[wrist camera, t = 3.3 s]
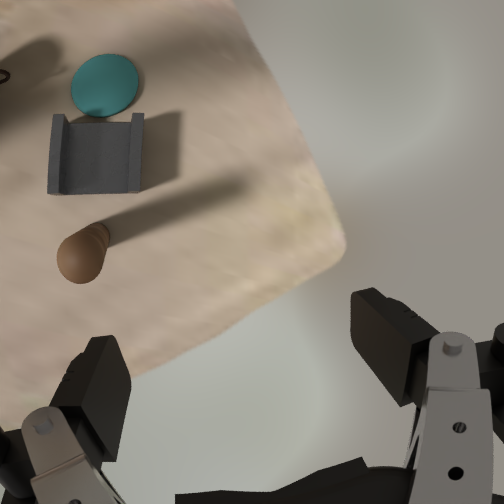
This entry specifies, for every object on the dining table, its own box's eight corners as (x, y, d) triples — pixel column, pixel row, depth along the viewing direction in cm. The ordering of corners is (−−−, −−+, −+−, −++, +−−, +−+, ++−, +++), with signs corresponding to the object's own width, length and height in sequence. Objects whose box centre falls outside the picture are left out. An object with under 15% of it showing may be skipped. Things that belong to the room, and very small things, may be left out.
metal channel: (56, 195, 38) (47, 193, 33) (60, 125, 37) (53, 114, 31) (137, 193, 43) (140, 191, 37) (140, 124, 42) (144, 113, 36)
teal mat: (67, 118, 37) (66, 116, 36) (77, 57, 36) (77, 54, 35) (134, 117, 41) (134, 115, 40) (141, 57, 40) (142, 54, 39)
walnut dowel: (83, 252, 41) (58, 284, 22) (82, 223, 40) (55, 234, 22) (110, 251, 42) (104, 282, 24) (109, 222, 42) (102, 233, 24)
